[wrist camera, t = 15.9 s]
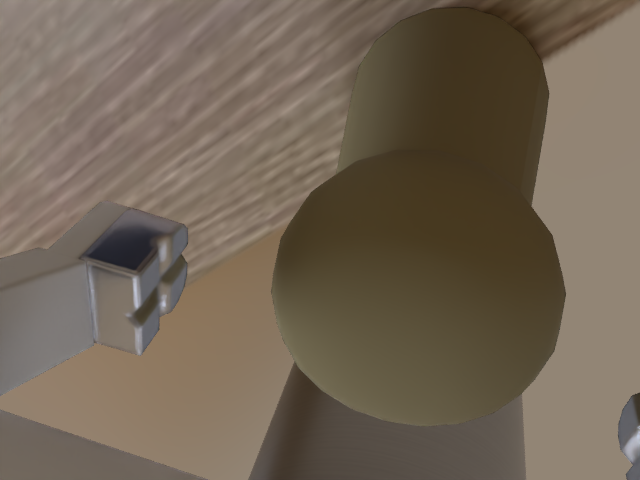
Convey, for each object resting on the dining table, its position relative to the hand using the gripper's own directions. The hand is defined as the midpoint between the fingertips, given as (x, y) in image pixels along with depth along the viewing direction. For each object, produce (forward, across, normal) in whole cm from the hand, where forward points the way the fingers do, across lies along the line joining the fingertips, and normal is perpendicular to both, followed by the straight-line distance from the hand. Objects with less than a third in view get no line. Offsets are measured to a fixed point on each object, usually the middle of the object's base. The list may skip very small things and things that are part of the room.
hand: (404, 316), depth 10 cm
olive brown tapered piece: (+10, 0, 0) cm, 10 cm away
